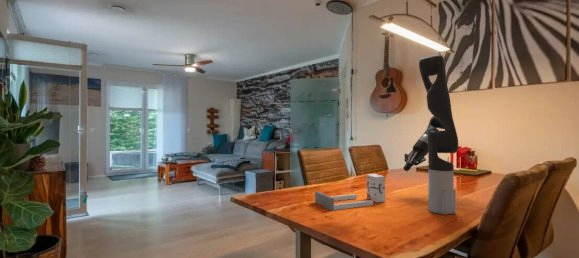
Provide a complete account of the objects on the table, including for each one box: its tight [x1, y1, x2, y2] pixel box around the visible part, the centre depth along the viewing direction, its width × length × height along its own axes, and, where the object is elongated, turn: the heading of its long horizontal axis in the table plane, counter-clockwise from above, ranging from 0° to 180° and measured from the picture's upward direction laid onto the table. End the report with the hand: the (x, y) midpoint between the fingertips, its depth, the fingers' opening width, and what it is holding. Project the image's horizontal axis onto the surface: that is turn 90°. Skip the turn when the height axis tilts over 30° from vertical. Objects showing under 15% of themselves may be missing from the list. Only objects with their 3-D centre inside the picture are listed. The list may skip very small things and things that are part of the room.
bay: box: [314, 190, 374, 211], centre depth 135 cm, size 14×22×5 cm, turn 112°
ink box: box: [366, 173, 386, 203], centre depth 141 cm, size 9×5×12 cm, turn 17°
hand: (405, 170), depth 148 cm, fingers closed
